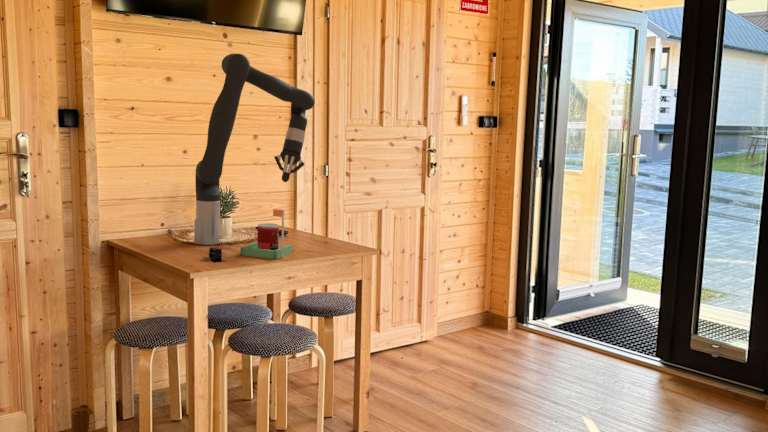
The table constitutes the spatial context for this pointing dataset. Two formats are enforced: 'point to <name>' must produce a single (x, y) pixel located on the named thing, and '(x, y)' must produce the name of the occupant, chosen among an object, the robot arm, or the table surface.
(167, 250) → the table surface
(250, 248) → the green u-shaped frame
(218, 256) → the black block
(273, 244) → the canned food
